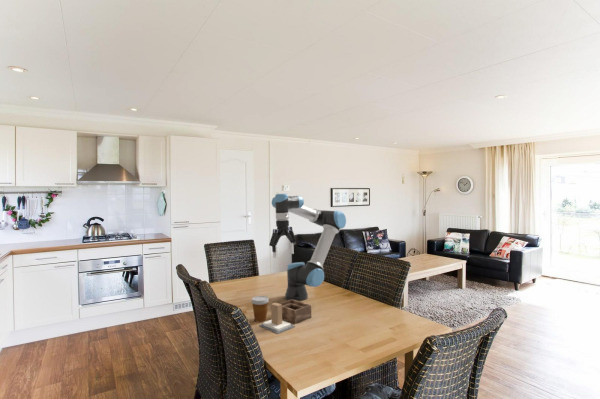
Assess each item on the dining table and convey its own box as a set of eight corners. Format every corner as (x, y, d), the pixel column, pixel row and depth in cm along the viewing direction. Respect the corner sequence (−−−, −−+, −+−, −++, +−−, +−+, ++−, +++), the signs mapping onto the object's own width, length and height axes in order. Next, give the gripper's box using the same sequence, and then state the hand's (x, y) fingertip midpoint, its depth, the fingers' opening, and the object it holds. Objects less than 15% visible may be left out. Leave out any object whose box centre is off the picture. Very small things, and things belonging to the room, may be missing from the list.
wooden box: (275, 316, 187) (275, 304, 187) (292, 310, 196) (291, 299, 196) (295, 324, 176) (295, 310, 176) (311, 317, 185) (311, 305, 185)
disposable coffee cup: (252, 324, 177) (252, 301, 177) (250, 317, 186) (250, 296, 186) (270, 322, 179) (270, 300, 179) (267, 315, 189) (267, 294, 188)
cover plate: (262, 325, 174) (262, 303, 174) (275, 320, 181) (275, 299, 181) (278, 331, 166) (277, 309, 166) (291, 326, 173) (290, 304, 172)
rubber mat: (258, 325, 174) (258, 325, 174) (276, 319, 183) (276, 318, 183) (277, 334, 164) (277, 333, 164) (295, 326, 172) (295, 326, 172)
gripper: (271, 222, 184) (272, 260, 184) (301, 218, 202) (302, 252, 203) (262, 221, 189) (263, 258, 189) (292, 217, 207) (293, 251, 208)
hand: (283, 255), depth 196 cm, fingers open, 13 cm apart
